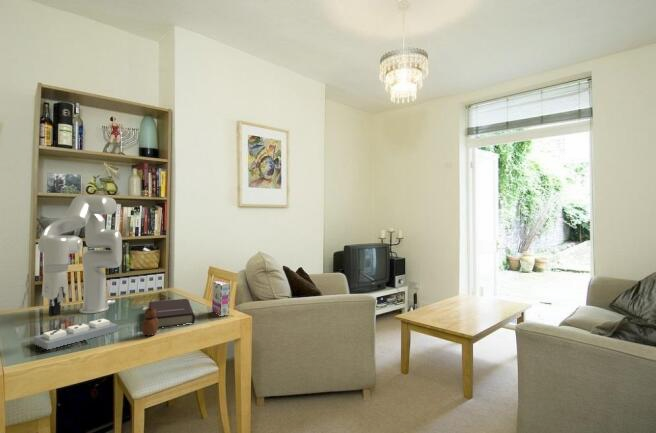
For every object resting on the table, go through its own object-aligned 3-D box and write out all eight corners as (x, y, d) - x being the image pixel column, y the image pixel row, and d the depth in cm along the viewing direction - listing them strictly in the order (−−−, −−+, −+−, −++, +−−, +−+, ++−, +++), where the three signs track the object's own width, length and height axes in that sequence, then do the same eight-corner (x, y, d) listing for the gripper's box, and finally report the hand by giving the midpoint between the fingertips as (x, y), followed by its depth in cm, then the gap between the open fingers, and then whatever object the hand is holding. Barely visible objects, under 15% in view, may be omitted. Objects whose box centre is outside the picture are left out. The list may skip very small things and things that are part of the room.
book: (194, 325, 158) (195, 312, 158) (148, 330, 149) (148, 317, 149) (189, 309, 183) (189, 298, 182) (148, 313, 173) (149, 302, 173)
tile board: (103, 326, 152) (103, 319, 152) (117, 331, 146) (117, 324, 146) (34, 344, 130) (34, 336, 130) (47, 351, 124) (47, 343, 124)
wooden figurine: (146, 332, 146) (147, 298, 146) (160, 332, 147) (161, 298, 146) (139, 338, 139) (140, 302, 139) (153, 337, 140) (154, 302, 140)
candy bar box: (229, 315, 172) (230, 284, 172) (220, 317, 169) (220, 285, 168) (220, 310, 180) (221, 280, 180) (211, 312, 177) (212, 281, 177)
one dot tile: (103, 325, 149) (103, 317, 149) (109, 327, 146) (109, 320, 146) (89, 328, 144) (89, 321, 144) (95, 331, 141) (95, 323, 141)
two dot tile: (82, 330, 142) (82, 322, 142) (89, 333, 139) (89, 325, 139) (67, 334, 137) (67, 326, 137) (73, 337, 134) (73, 329, 134)
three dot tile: (60, 336, 135) (60, 328, 135) (66, 339, 132) (66, 330, 132) (43, 340, 130) (43, 332, 130) (49, 343, 127) (49, 335, 127)
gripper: (35, 267, 131) (34, 314, 131) (52, 271, 124) (51, 321, 123) (58, 265, 138) (57, 310, 137) (76, 269, 130) (74, 316, 130)
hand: (54, 315), depth 130 cm, fingers closed
